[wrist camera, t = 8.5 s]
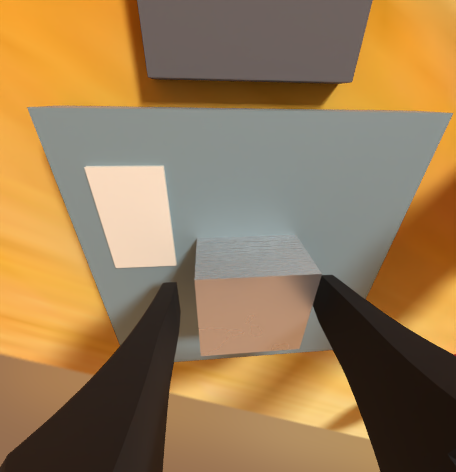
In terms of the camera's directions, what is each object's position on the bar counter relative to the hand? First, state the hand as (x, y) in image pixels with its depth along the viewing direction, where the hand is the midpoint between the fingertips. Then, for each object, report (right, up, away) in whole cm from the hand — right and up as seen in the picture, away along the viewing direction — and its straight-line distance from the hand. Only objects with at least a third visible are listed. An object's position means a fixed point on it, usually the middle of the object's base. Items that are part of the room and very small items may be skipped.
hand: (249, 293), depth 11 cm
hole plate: (0, +2, +3) cm, 3 cm away
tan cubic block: (0, +2, +3) cm, 3 cm away
